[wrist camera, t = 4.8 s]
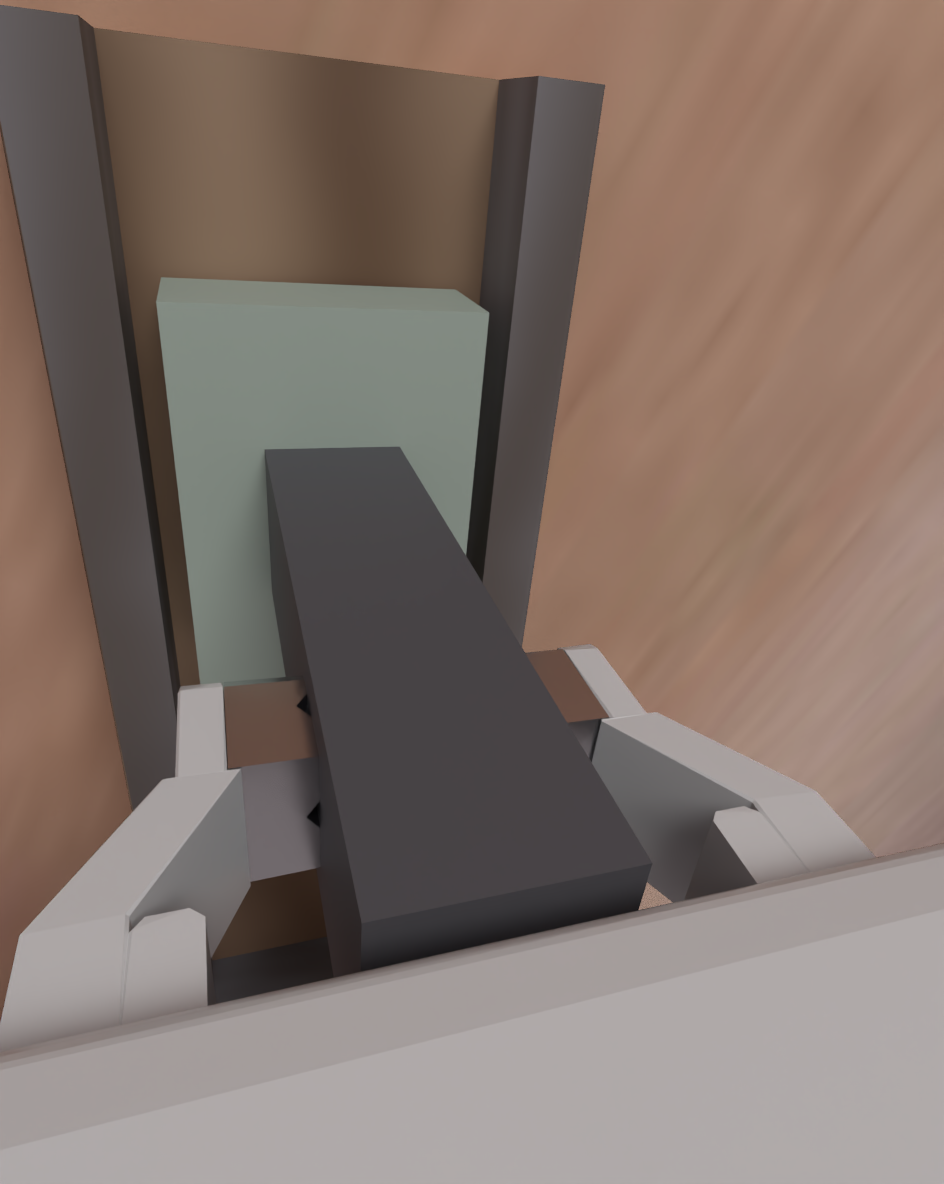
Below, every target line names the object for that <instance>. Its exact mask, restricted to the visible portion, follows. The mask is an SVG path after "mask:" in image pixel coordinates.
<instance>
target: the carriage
mask: <svg viewBox="0 0 944 1184" xmlns="http://www.w3.org/2000/svg"><path fill="white" fill-rule="evenodd" d="M156 305H157V313H158V322H159V331H160V339H161V348H162V357H163V365H164V374H165V383H166V391H167V400H168V409H169V417H170V426H171V435H172V443H173V452H174V461H175V469H176V478H177V486H178V495H179V504H180V512H181V521H182V530H183V538H184V547H185V556H186V564H187V573H188V582H189V590H190V599H191V608H192V616H193V625H194V634H195V642H196V651H197V660H198V668H199V677H200V684H210V683H222V684H223V689H224V682H230V681H242V680H254V679H266V678H279V677H291V676H303V678H304V680H305V685H306V691H307V710H308V715H310V716H311V717H312V722H313V727H314V732H315V737H316V743H317V748H318V753H319V776H320V801H319V802H318V804H317V805H316V806H317V812H318V818H319V823H320V833H321V867H320V868H316V870H317V876H318V882H319V888H320V895H321V901H322V907H323V914H324V920H325V926H326V932H327V939H328V945H329V951H330V957H331V964H332V970H333V976H334V978H335V977H340V976H344V975H349V974H353V973H358V972H362V971H367V970H371V969H376V968H380V967H385V966H389V965H394V964H398V963H403V962H407V961H412V960H416V959H421V958H425V957H430V956H434V955H439V954H443V953H448V952H452V951H457V950H462V949H466V948H471V947H475V946H480V945H484V944H489V943H493V942H498V941H502V940H507V939H511V938H516V937H520V936H525V935H529V934H534V933H538V932H543V931H547V930H552V929H556V928H561V927H565V926H570V925H574V924H579V923H583V922H588V921H593V920H597V919H602V918H606V917H611V916H615V915H620V914H624V913H629V912H633V911H638V909H639V906H640V903H641V899H642V896H643V893H644V890H645V886H646V883H647V880H648V877H649V874H650V870H651V867H652V864H653V863H652V861H651V860H650V858H649V856H648V855H647V853H646V851H645V850H644V848H643V846H642V845H641V843H640V841H639V840H638V838H637V837H636V835H635V833H634V832H633V830H632V828H631V827H630V825H629V823H628V822H627V820H626V818H625V817H624V815H623V813H622V812H621V810H620V809H619V807H618V805H617V804H616V802H615V800H614V799H613V797H612V795H611V794H610V792H609V790H608V789H607V787H606V785H605V784H604V782H603V781H602V779H601V777H600V776H599V774H598V772H597V771H596V769H595V767H594V766H593V764H592V762H591V761H590V759H589V758H588V756H587V754H586V753H585V751H584V749H583V748H582V746H581V744H580V743H579V741H578V739H577V738H576V736H575V734H574V733H573V731H572V730H571V728H570V726H569V725H568V723H567V721H566V720H565V718H564V716H563V715H562V713H561V711H560V710H559V708H558V706H557V705H556V703H555V702H554V700H553V698H552V697H551V695H550V693H549V692H548V690H547V688H546V687H545V685H544V683H543V682H542V680H541V678H540V677H539V675H538V674H537V672H536V670H535V669H534V667H533V665H532V664H531V662H530V660H529V659H528V657H527V655H526V654H525V652H524V650H523V649H522V647H521V646H520V644H519V642H518V641H517V639H516V637H515V636H514V634H513V632H512V631H511V629H510V627H509V626H508V624H507V622H506V621H505V619H504V618H503V616H502V614H501V613H500V611H499V609H498V608H497V606H496V604H495V603H494V601H493V599H492V598H491V596H490V595H489V593H488V591H487V590H486V588H485V586H484V585H483V583H482V581H481V580H480V578H479V576H478V575H477V573H476V571H475V570H474V568H473V567H472V565H471V563H470V562H469V560H468V558H467V557H466V551H467V540H468V530H469V519H470V509H471V499H472V488H473V478H474V467H475V457H476V446H477V436H478V426H479V415H480V405H481V394H482V384H483V373H484V363H485V353H486V342H487V332H488V321H489V312H488V311H486V310H485V309H483V308H482V307H480V306H479V305H477V304H476V303H475V302H473V301H472V300H470V299H469V298H467V297H466V296H464V295H463V294H462V293H460V292H459V291H457V290H455V289H431V288H407V287H383V286H359V285H335V284H311V283H287V282H262V281H238V280H214V279H190V278H166V277H161V280H160V285H159V290H158V295H157V300H156Z"/></svg>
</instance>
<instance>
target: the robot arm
mask: <svg viewBox="0 0 944 1184" xmlns="http://www.w3.org/2000/svg"><path fill="white" fill-rule="evenodd" d="M525 654H526V655H527V657H528V659H529V660H530V662H531V664H532V665H533V667H534V669H535V670H536V672H537V674H538V675H539V677H540V678H541V680H542V682H543V683H544V685H545V687H546V688H547V690H548V692H549V693H550V695H551V697H552V698H553V700H554V702H555V703H556V705H557V706H558V708H559V710H560V711H561V713H562V715H563V716H564V718H565V720H566V721H567V723H568V725H569V726H570V728H571V730H572V731H573V733H574V734H575V736H576V738H577V739H578V741H579V743H580V744H581V746H582V748H583V749H584V751H585V753H586V754H587V756H588V758H589V759H590V761H591V762H592V764H593V766H594V767H595V769H596V771H597V772H598V774H599V776H600V777H601V779H602V781H603V782H604V784H605V785H606V787H607V789H608V790H609V792H610V794H611V795H612V797H613V799H614V800H615V802H616V804H617V805H618V807H619V809H620V810H621V812H622V813H623V815H624V817H625V818H626V820H627V822H628V823H629V825H630V827H631V828H632V830H633V832H634V833H635V835H636V837H637V838H638V840H639V841H640V843H641V845H642V846H643V848H644V850H645V851H646V853H647V855H648V856H649V858H650V860H651V861H652V863H653V864H652V867H651V870H650V874H649V877H648V880H647V882H648V883H649V884H650V885H652V886H653V887H654V888H655V889H657V890H658V891H659V892H660V893H662V894H663V895H664V896H666V897H667V898H668V899H669V900H671V901H672V902H673V903H669V904H665V905H660V906H656V907H651V908H647V909H642V910H638V911H633V912H629V913H624V914H620V915H615V916H611V917H606V918H602V919H597V920H593V921H588V922H583V923H579V924H574V925H570V926H565V927H561V928H556V929H552V930H547V931H543V932H538V933H534V934H529V935H525V936H520V937H516V938H511V939H507V940H502V941H498V942H493V943H489V944H484V945H480V946H475V947H471V948H466V949H462V950H457V951H452V952H448V953H443V954H439V955H434V956H430V957H425V958H421V959H416V960H412V961H407V962H403V963H398V964H394V965H389V966H385V967H380V968H376V969H371V970H367V971H362V972H358V973H353V974H349V975H344V976H340V977H335V978H331V979H326V980H322V981H317V982H312V983H308V984H303V985H299V986H294V987H290V988H285V989H281V990H276V991H272V992H267V993H263V994H258V995H254V996H249V997H245V998H240V999H236V1000H231V1001H227V1002H222V1003H218V1004H216V997H215V989H214V981H213V973H212V965H211V958H212V956H213V954H214V952H215V950H216V949H217V947H218V945H219V943H220V941H221V939H222V938H223V936H224V934H225V932H226V930H227V928H228V927H229V925H230V923H231V921H232V919H233V917H234V916H235V914H236V912H237V910H238V908H239V906H240V905H241V903H242V901H243V899H244V897H245V895H246V894H247V892H248V890H249V888H250V886H251V883H250V882H252V881H256V880H261V879H266V878H271V877H276V876H281V875H286V874H290V873H295V872H300V871H305V870H310V869H315V868H320V867H321V833H320V823H319V818H318V812H317V806H316V805H317V804H318V802H319V801H320V776H319V753H318V748H317V743H316V737H315V732H314V727H313V722H312V717H311V716H310V715H308V710H307V691H306V685H305V680H304V678H303V676H291V677H279V678H266V679H254V680H242V681H230V682H224V689H223V684H222V683H210V684H199V685H189V686H181V687H180V689H179V692H178V705H177V736H176V767H175V778H168V779H162V780H161V781H160V782H159V783H158V784H157V786H156V787H155V788H154V789H153V790H152V791H151V792H150V793H149V794H148V795H147V797H146V798H145V799H144V800H143V801H142V802H141V803H140V804H139V805H138V806H137V807H136V809H135V810H134V811H133V812H132V813H131V814H130V815H129V816H128V817H127V818H126V820H125V821H124V822H123V823H122V824H121V825H120V826H119V827H118V828H117V829H116V830H115V832H114V833H113V834H112V835H111V836H110V837H109V838H108V839H107V840H106V841H105V842H104V844H103V845H102V846H101V847H100V848H99V849H98V850H97V851H96V852H95V853H94V855H93V856H92V857H91V858H90V859H89V860H88V861H87V862H86V863H85V864H84V865H83V867H82V868H81V869H80V870H79V871H78V872H77V873H76V874H75V875H74V876H73V878H72V879H71V880H70V881H69V882H68V883H67V884H66V885H65V886H64V887H63V888H62V890H61V891H60V892H59V893H58V894H57V895H56V896H55V897H54V898H53V899H52V901H51V902H50V903H49V904H48V905H47V906H46V907H45V908H44V909H43V910H42V911H41V913H40V914H39V915H38V916H37V917H36V918H35V919H34V920H33V921H32V922H31V924H30V925H29V926H28V927H27V928H26V929H25V930H24V931H23V932H22V933H21V934H20V936H19V940H18V945H17V949H16V954H15V958H14V963H13V967H12V972H11V976H10V981H9V986H8V990H7V995H6V999H5V1004H4V1008H3V1013H2V1017H1V1022H0V1184H944V843H941V844H936V845H932V846H927V847H923V848H918V849H914V850H909V851H905V852H900V853H896V854H891V855H887V856H882V857H878V858H876V856H875V855H874V854H873V853H872V852H871V851H870V850H869V849H868V848H867V847H866V845H865V844H864V843H863V842H862V841H861V840H860V839H859V838H858V837H857V836H856V834H855V833H854V832H853V831H852V830H851V829H850V828H849V827H848V826H847V825H846V823H845V822H844V821H843V820H842V819H841V818H840V817H839V816H838V815H837V814H836V812H835V811H834V810H833V809H832V808H831V807H830V806H829V805H828V804H827V803H826V801H825V800H824V799H823V798H822V797H821V796H820V795H819V794H818V793H817V792H816V791H815V790H813V789H811V788H809V787H807V786H805V785H803V784H801V783H799V782H797V781H795V780H793V779H791V778H789V777H787V776H785V775H783V774H781V773H779V772H777V771H774V770H772V769H770V768H768V767H766V766H764V765H762V764H760V763H758V762H756V761H754V760H752V759H750V758H748V757H746V756H744V755H742V754H740V753H738V752H736V751H734V750H732V749H730V748H728V747H726V746H724V745H722V744H720V743H718V742H716V741H714V740H712V739H710V738H708V737H706V736H704V735H702V734H700V733H698V732H696V731H694V730H692V729H690V728H687V727H685V726H683V725H681V724H679V723H677V722H675V721H673V720H671V719H669V718H667V717H665V716H663V715H661V714H659V713H657V712H654V713H646V711H645V710H644V709H643V707H642V706H641V705H640V704H639V702H638V701H637V700H636V698H635V697H634V696H633V694H632V693H631V692H630V690H629V689H628V688H627V686H626V685H625V684H624V682H623V681H622V680H621V679H620V677H619V676H618V675H617V673H616V672H615V671H614V669H613V668H612V667H611V665H610V664H609V663H608V661H607V660H606V659H605V657H604V656H603V655H602V653H601V652H600V651H599V650H598V648H597V647H595V646H593V645H591V644H586V645H578V646H571V647H563V648H558V649H557V650H548V651H539V652H530V653H525Z"/></svg>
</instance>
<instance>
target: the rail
mask: <svg viewBox="0 0 944 1184" xmlns="http://www.w3.org/2000/svg"><path fill="white" fill-rule="evenodd" d="M604 89H605V85H603V84H595V83H588V82H580V81H573V80H565V79H557V78H550V77H542V76H534V77H524V78H514V79H503V80H496V79H488V78H481V77H473V76H465V75H457V74H449V73H442V72H434V71H426V70H418V69H411V68H403V67H395V66H387V65H379V64H372V63H364V62H356V61H348V60H340V59H333V58H325V57H317V56H309V55H301V54H294V53H286V52H278V51H270V50H262V49H255V48H247V47H239V46H231V45H223V44H216V43H208V42H200V41H192V40H185V39H177V38H169V37H161V36H153V35H146V34H138V33H130V32H122V31H114V30H107V29H99V28H93V27H92V26H91V25H89V24H88V23H87V22H86V21H85V20H83V19H82V18H81V17H80V16H78V15H73V14H65V13H57V12H50V11H42V10H35V9H27V8H20V7H12V6H4V5H0V131H1V136H2V141H3V147H4V152H5V157H6V162H7V167H8V172H9V178H10V183H11V188H12V193H13V198H14V203H15V209H16V214H17V219H18V224H19V229H20V235H21V240H22V245H23V250H24V255H25V260H26V266H27V271H28V276H29V281H30V286H31V291H32V297H33V302H34V307H35V312H36V317H37V323H38V328H39V333H40V338H41V343H42V348H43V354H44V359H45V364H46V369H47V374H48V379H49V385H50V390H51V395H52V400H53V405H54V411H55V416H56V421H57V426H58V431H59V436H60V442H61V447H62V452H63V457H64V462H65V467H66V473H67V478H68V483H69V488H70V493H71V499H72V504H73V509H74V514H75V519H76V524H77V530H78V535H79V540H80V545H81V550H82V555H83V561H84V566H85V571H86V576H87V581H88V587H89V592H90V597H91V602H92V607H93V612H94V618H95V623H96V628H97V633H98V638H99V643H100V649H101V654H102V659H103V664H104V669H105V675H106V680H107V685H108V690H109V695H110V700H111V706H112V711H113V716H114V721H115V726H116V732H117V737H118V742H119V747H120V752H121V757H122V763H123V768H124V773H125V778H126V783H127V788H128V794H129V799H130V804H131V809H132V812H133V811H134V810H135V809H136V807H137V806H138V805H139V804H140V803H141V802H142V801H143V800H144V799H145V798H146V797H147V795H148V794H149V793H150V792H151V791H152V790H153V789H154V788H155V787H156V786H157V784H158V783H159V782H160V781H161V780H162V779H168V778H175V767H176V736H177V705H178V692H179V689H180V687H181V686H189V685H199V684H200V677H199V668H198V660H197V651H196V642H195V634H194V625H193V616H192V608H191V599H190V590H189V582H188V573H187V564H186V556H185V547H184V538H183V530H182V521H181V512H180V504H179V495H178V486H177V478H176V469H175V461H174V452H173V443H172V435H171V426H170V417H169V409H168V400H167V391H166V383H165V374H164V365H163V357H162V348H161V339H160V331H159V322H158V313H157V305H156V300H157V295H158V290H159V285H160V280H161V277H166V278H190V279H214V280H238V281H262V282H287V283H311V284H335V285H359V286H383V287H407V288H431V289H455V290H457V291H459V292H460V293H462V294H463V295H464V296H466V297H467V298H469V299H470V300H472V301H473V302H475V303H476V304H477V305H479V306H480V307H482V308H483V309H485V310H486V311H488V312H489V321H488V332H487V342H486V353H485V363H484V373H483V384H482V394H481V405H480V415H479V426H478V436H477V446H476V457H475V467H474V478H473V488H472V499H471V509H470V519H469V530H468V540H467V551H466V557H467V558H468V560H469V562H470V563H471V565H472V567H473V568H474V570H475V571H476V573H477V575H478V576H479V578H480V580H481V581H482V583H483V585H484V586H485V588H486V590H487V591H488V593H489V595H490V596H491V598H492V599H493V601H494V603H495V604H496V606H497V608H498V609H499V611H500V613H501V614H502V616H503V618H504V619H505V621H506V622H507V624H508V626H509V627H510V629H511V631H512V632H513V634H514V636H515V637H516V639H517V641H518V642H519V644H520V646H521V647H522V642H523V636H524V629H525V622H526V615H527V609H528V602H529V595H530V588H531V582H532V575H533V568H534V561H535V555H536V548H537V541H538V534H539V528H540V521H541V514H542V507H543V501H544V494H545V487H546V480H547V474H548V467H549V460H550V453H551V447H552V440H553V433H554V426H555V420H556V413H557V406H558V399H559V393H560V386H561V379H562V372H563V366H564V359H565V352H566V345H567V339H568V332H569V325H570V318H571V312H572V305H573V298H574V291H575V285H576V278H577V271H578V264H579V258H580V251H581V244H582V237H583V231H584V224H585V217H586V210H587V204H588V197H589V190H590V183H591V177H592V170H593V163H594V156H595V150H596V143H597V136H598V129H599V123H600V116H601V109H602V102H603V96H604ZM250 883H251V886H250V888H249V890H248V892H247V894H246V895H245V897H244V899H243V901H242V903H241V905H240V906H239V908H238V910H237V912H236V914H235V916H234V917H233V919H232V921H231V923H230V925H229V927H228V928H227V930H226V932H225V934H224V936H223V938H222V939H221V941H220V943H219V945H218V947H217V949H216V950H215V952H214V954H213V956H212V958H211V965H212V973H213V981H214V989H215V997H216V1004H218V1003H222V1002H227V1001H231V1000H236V999H240V998H245V997H249V996H254V995H258V994H263V993H267V992H272V991H276V990H281V989H285V988H290V987H294V986H299V985H303V984H308V983H312V982H317V981H322V980H326V979H331V978H334V976H333V970H332V964H331V957H330V951H329V945H328V939H327V932H326V926H325V920H324V914H323V907H322V901H321V895H320V888H319V882H318V876H317V870H316V868H315V869H310V870H305V871H300V872H295V873H290V874H286V875H281V876H276V877H271V878H266V879H261V880H256V881H252V882H250Z"/></svg>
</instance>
